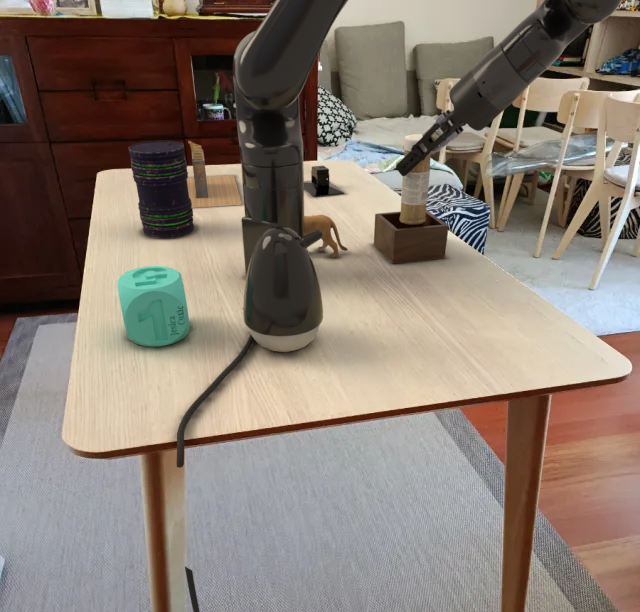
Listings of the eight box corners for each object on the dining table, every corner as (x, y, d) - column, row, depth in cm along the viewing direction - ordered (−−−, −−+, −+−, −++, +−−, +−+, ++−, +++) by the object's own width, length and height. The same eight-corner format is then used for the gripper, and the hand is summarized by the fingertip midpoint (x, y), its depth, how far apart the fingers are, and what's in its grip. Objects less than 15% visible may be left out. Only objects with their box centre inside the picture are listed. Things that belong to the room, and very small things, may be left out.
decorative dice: (130, 351, 78) (117, 293, 74) (127, 324, 85) (116, 269, 80) (192, 342, 80) (184, 285, 76) (185, 316, 86) (177, 262, 82)
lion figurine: (263, 259, 104) (260, 206, 99) (264, 248, 108) (261, 197, 103) (348, 258, 105) (350, 204, 99) (346, 247, 109) (347, 195, 104)
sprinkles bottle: (411, 215, 107) (418, 132, 99) (431, 222, 104) (439, 136, 96) (393, 221, 104) (398, 136, 96) (412, 227, 101) (419, 140, 94)
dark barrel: (158, 242, 111) (144, 155, 102) (133, 229, 117) (117, 146, 108) (205, 230, 117) (195, 146, 108) (178, 218, 122) (167, 138, 114)
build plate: (344, 194, 136) (344, 173, 134) (313, 198, 134) (313, 176, 132) (325, 180, 146) (325, 159, 143) (296, 183, 144) (295, 162, 141)
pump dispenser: (334, 354, 77) (335, 236, 68) (254, 367, 75) (244, 246, 66) (312, 320, 85) (311, 210, 76) (239, 330, 83) (229, 218, 74)
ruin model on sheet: (166, 178, 148) (159, 135, 142) (233, 175, 150) (230, 132, 144) (163, 209, 128) (156, 159, 122) (241, 204, 130) (238, 156, 124)
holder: (444, 258, 104) (448, 225, 101) (392, 264, 102) (394, 230, 99) (422, 239, 112) (425, 209, 109) (373, 244, 110) (375, 213, 107)
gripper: (484, 61, 93) (404, 140, 104) (462, 71, 83) (374, 158, 94) (514, 101, 94) (431, 176, 106) (495, 117, 84) (405, 197, 95)
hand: (405, 167), depth 100 cm, fingers closed on sprinkles bottle, 4 cm apart
